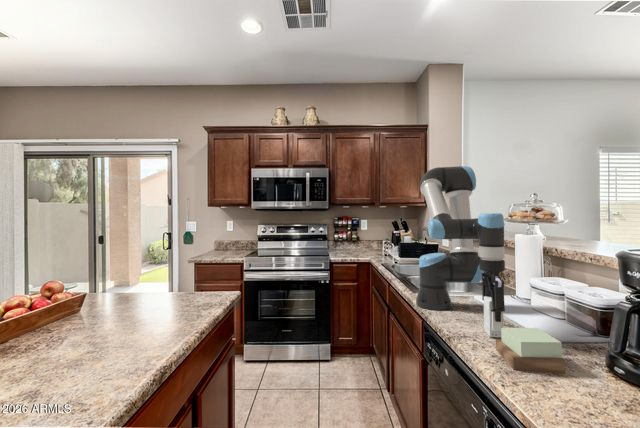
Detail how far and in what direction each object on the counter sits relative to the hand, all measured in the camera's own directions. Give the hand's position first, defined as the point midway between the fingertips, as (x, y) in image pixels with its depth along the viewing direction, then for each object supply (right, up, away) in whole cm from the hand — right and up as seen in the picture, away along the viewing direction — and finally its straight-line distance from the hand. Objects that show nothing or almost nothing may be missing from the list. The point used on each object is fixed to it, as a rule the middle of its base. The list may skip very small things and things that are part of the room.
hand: (493, 326), depth 102 cm
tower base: (-1, -3, -18) cm, 18 cm away
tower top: (-1, +1, -18) cm, 18 cm away
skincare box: (0, -3, 0) cm, 3 cm away
